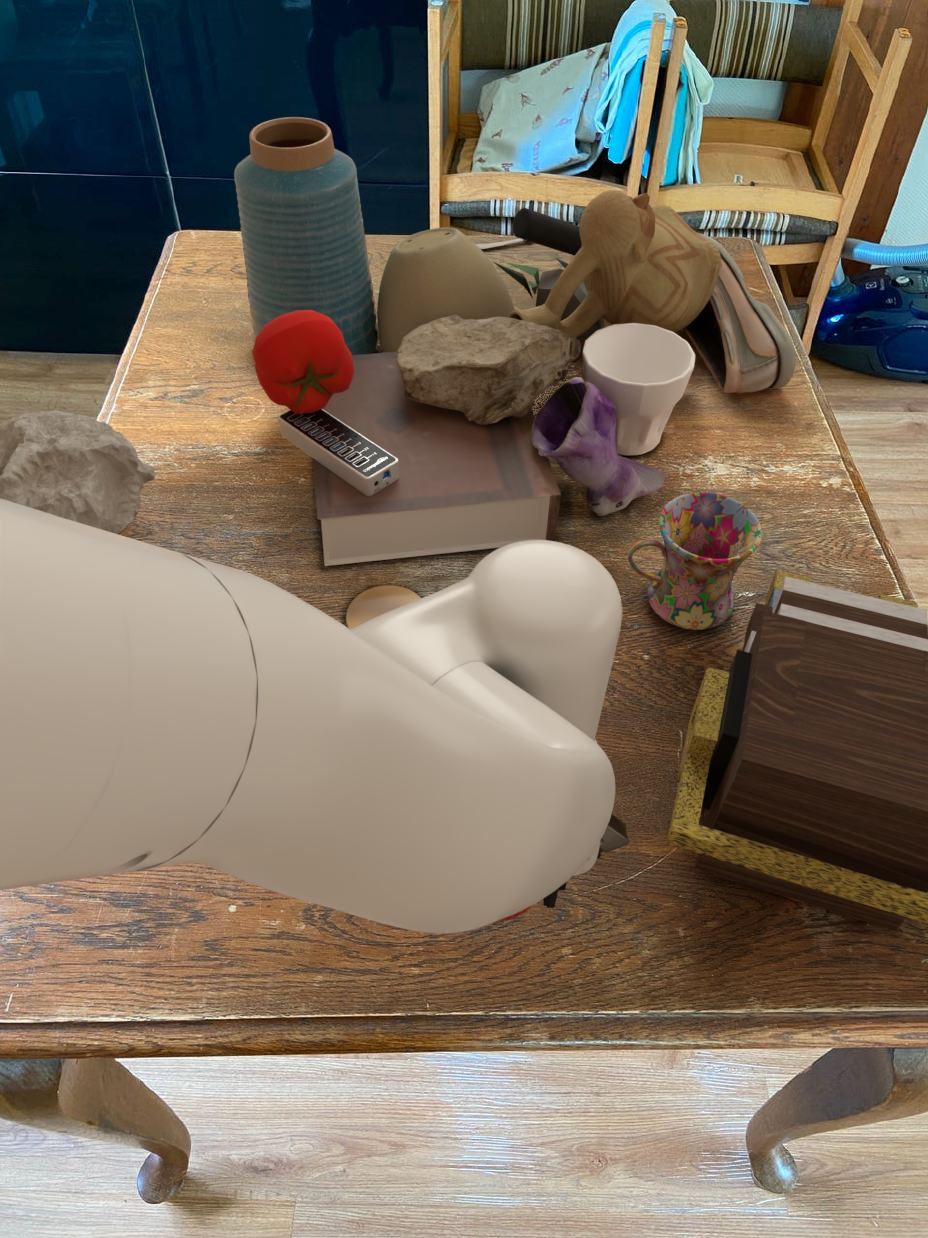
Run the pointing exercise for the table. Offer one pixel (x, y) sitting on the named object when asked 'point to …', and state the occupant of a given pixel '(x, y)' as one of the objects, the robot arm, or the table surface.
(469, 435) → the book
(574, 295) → the succulent plant
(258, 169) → the vase
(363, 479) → the multiport hub
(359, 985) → the table surface
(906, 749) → the brown wooden box
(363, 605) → the coaster
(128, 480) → the stone
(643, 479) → the figurine
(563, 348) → the rock
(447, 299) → the flower pot
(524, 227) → the flashlight
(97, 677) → the robot arm
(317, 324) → the tomato
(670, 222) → the ceramic vessel
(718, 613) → the mug
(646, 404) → the cup
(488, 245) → the knife
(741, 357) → the loafer
